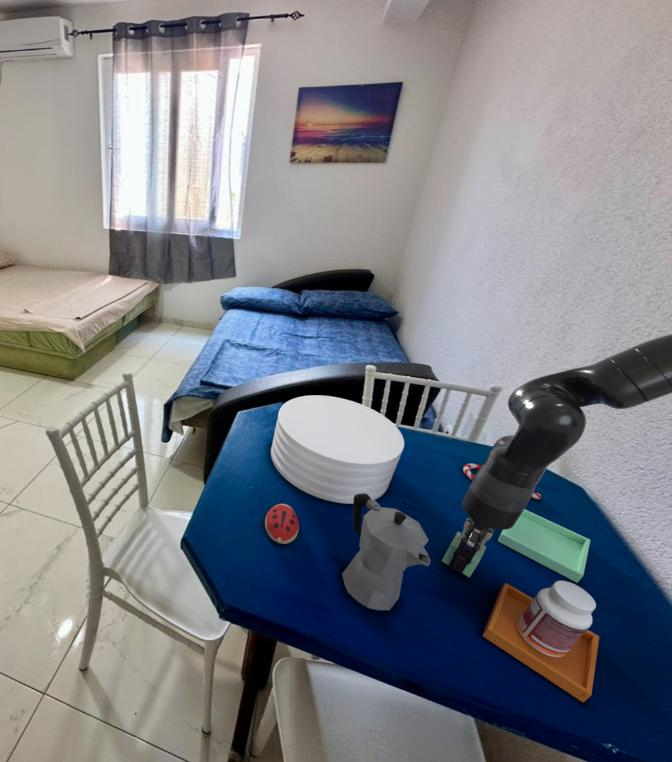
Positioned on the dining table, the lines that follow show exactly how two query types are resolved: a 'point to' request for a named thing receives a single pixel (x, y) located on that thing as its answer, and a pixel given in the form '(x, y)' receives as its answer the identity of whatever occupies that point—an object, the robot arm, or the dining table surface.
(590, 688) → the amber tray
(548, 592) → the pill bottle
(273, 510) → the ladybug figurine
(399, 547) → the coffeepot
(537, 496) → the candy cane
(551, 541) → the mint tray
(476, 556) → the mint block
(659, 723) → the dining table surface
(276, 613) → the dining table surface
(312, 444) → the plate stack
